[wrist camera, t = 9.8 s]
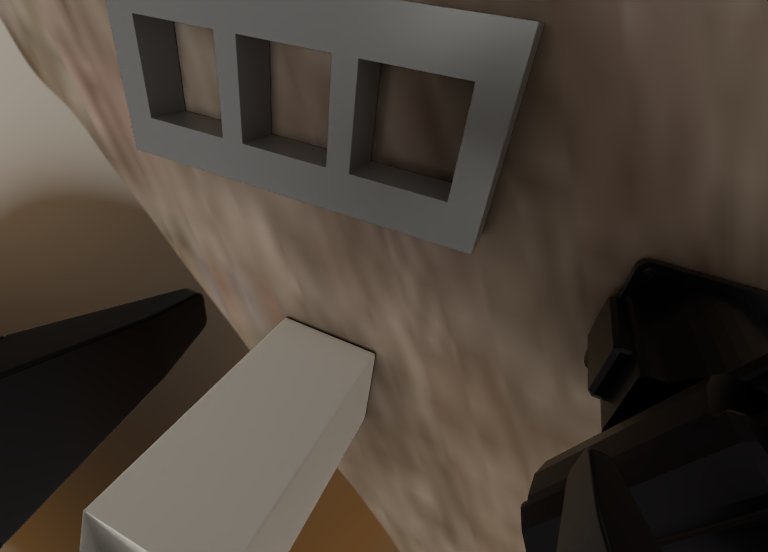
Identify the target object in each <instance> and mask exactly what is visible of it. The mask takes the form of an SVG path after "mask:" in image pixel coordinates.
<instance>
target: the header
mask: <svg viewBox="0 0 768 552" xmlns="http://www.w3.org/2000/svg"><path fill="white" fill-rule="evenodd" d="M105 1H106V6H107V10H108V15H109V20H110V25H111V29H112V34H113V39H114V44H115V48H116V53H117V58H118V62H119V67H120V72H121V77H122V81H123V86H124V91H125V96H126V100H127V105H128V110H129V114H130V119H131V124H132V129H133V133H134V138H135V143H136V148H137V150H140V151H143V152H147V153H150V154H153V155H156V156H159V157H162V158H166V159H169V160H172V161H175V162H178V163H182V164H185V165H188V166H191V167H194V168H197V169H201V170H204V171H207V172H210V173H213V174H216V175H220V176H223V177H226V178H229V179H232V180H236V181H239V182H242V183H245V184H248V185H251V186H255V187H258V188H261V189H264V190H267V191H270V192H274V193H277V194H280V195H283V196H286V197H290V198H293V199H296V200H299V201H302V202H305V203H309V204H312V205H315V206H318V207H321V208H324V209H328V210H331V211H334V212H337V213H340V214H344V215H347V216H350V217H353V218H356V219H359V220H363V221H366V222H369V223H372V224H375V225H378V226H382V227H385V228H388V229H391V230H394V231H398V232H401V233H404V234H407V235H410V236H413V237H417V238H420V239H423V240H426V241H429V242H432V243H436V244H439V245H442V246H445V247H448V248H452V249H455V250H458V251H461V252H464V253H467V254H471V255H472V253H473V251H474V249H475V247H476V245H477V243H478V241H479V239H480V237H481V235H482V233H483V229H484V226H485V223H486V219H487V216H488V213H489V209H490V206H491V202H492V199H493V196H494V192H495V189H496V186H497V182H498V179H499V175H500V172H501V169H502V165H503V162H504V159H505V155H506V152H507V149H508V145H509V142H510V138H511V135H512V132H513V128H514V125H515V122H516V118H517V115H518V111H519V108H520V105H521V101H522V98H523V95H524V91H525V88H526V85H527V81H528V78H529V74H530V71H531V68H532V64H533V61H534V58H535V54H536V51H537V48H538V44H539V41H540V37H541V34H542V31H543V27H544V24H545V23H543V22H537V21H530V20H524V19H517V18H511V17H504V16H498V15H492V14H485V13H479V12H472V11H466V10H459V9H453V8H446V7H440V6H433V5H427V4H420V3H414V2H407V1H401V0H105ZM173 21H175V22H180V23H185V24H189V25H194V26H199V27H204V28H209V29H213V34H214V45H215V56H216V67H217V78H218V89H219V99H220V110H221V120H217V119H214V118H210V117H206V116H203V115H199V114H195V113H192V112H188V111H185V104H184V96H183V89H182V82H181V74H180V67H179V60H178V53H177V45H176V38H175V31H174V24H173ZM269 41H274V42H279V43H284V44H289V45H294V46H299V47H304V48H309V49H314V50H319V51H324V52H329V53H332V61H331V81H330V101H329V122H328V142H327V149H324V148H321V147H317V146H313V145H310V144H306V143H302V142H299V141H295V140H291V139H287V138H284V137H280V136H276V135H273V134H272V132H271V94H270V56H269ZM381 63H384V64H389V65H394V66H399V67H404V68H409V69H414V70H419V71H424V72H429V73H434V74H439V75H444V76H449V77H454V78H459V79H464V80H469V81H474V82H475V86H474V91H473V95H472V99H471V103H470V108H469V112H468V116H467V121H466V125H465V129H464V134H463V138H462V142H461V147H460V151H459V155H458V160H457V164H456V168H455V172H454V177H453V181H452V183H450V182H446V181H442V180H439V179H435V178H431V177H428V176H424V175H420V174H417V173H413V172H409V171H406V170H402V169H398V168H394V167H391V166H387V165H383V164H380V163H376V162H372V161H371V152H372V143H373V134H374V125H375V116H376V107H377V98H378V89H379V80H380V71H381Z"/></svg>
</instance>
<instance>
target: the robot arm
mask: <svg viewBox="0 0 768 552" xmlns="http://www.w3.org/2000/svg"><path fill="white" fill-rule="evenodd" d="M646 268H652V269H654V271H653V272H652V273H650V274H644V273H642V271H643V270H644V269H646ZM206 323H207V314H206V308H205V301H204V297H203V295H202V294H201V293H199V292H197V291H194V290H192V289H188V288H185V289H181V290H177V291H173V292H169V293H165V294H162V295H158V296H154V297H150V298H146V299H142V300H138V301H135V302H131V303H127V304H123V305H119V306H115V307H111V308H108V309H104V310H100V311H96V312H93V313H88V314H85V315H81V316H77V317H73V318H69V319H65V320H62V321H58V322H54V323H50V324H46V325H42V326H39V327H35V328H31V329H27V330H23V331H20V332H16V333H12V334H8V335H6V336H5V337H4V336H0V549H1V547H2V546H3V544H5V543H6V542H7V541H8V540H9V539H10V538H11V537H12V536H13V535H14V534H15V533H16V532H17V531H18V530H19V529H20V528H21V527H22V525H23V524H24V523H25V522H26V521H27V520H28V519H29V518H30V517H31V516H32V515H33V514H34V513H35V512H36V511H37V510H38V509H39V508H40V507H41V506H42V505H43V504H44V503H45V501H47V499H48V498H49V497H50V496H51V495H52V494H53V493H54V492H55V491H56V490H57V489H58V488H59V487H60V486H61V485H62V484H63V483H64V482H65V481H66V480H67V479H68V478H69V477H70V476H71V474H72V473H73V472H74V471H75V470H76V469H77V468H78V467H79V466H80V465H81V464H82V463H83V462H84V461H85V460H86V459H87V458H88V457H89V456H90V455H91V454H92V453H93V452H94V451H95V449H97V447H98V446H99V445H100V444H101V443H102V442H103V441H104V440H105V439H106V438H107V437H108V436H109V435H110V434H111V433H112V432H113V431H114V430H115V429H116V428H117V427H118V426H119V425H120V424H121V422H122V421H123V420H124V419H125V418H126V417H127V416H128V415H129V414H130V413H131V412H132V411H133V410H134V409H135V408H136V407H137V406H138V405H139V404H140V403H141V402H142V401H143V400H144V398H145V397H146V396H147V395H148V394H149V393H150V392H151V391H152V390H153V389H154V388H155V387H156V386H157V385H158V384H159V383H160V382H161V381H162V380H163V379H164V377H165V376H166V375H167V374H168V373H169V372H170V370H171V369H172V368H173V367H174V365H175V364H176V363H177V362H178V360H179V359H180V358H181V357H182V355H183V354H184V353H185V352H186V350H187V349H188V348H189V346H190V345H191V344H192V343H193V341H194V340H195V339H196V338H197V336H198V335H199V334H200V333H201V331H202V330H203V329H204V327H205V325H206ZM584 363H585V366H586V367H587V368H588V391H589V392H590V394H591V396H593V397H596V398H598V399H600V401H601V428H602V433H600V434H598V435H596V436H594V437H592V438H590V439H588V440H586V441H584V442H582V443H580V444H579V445H577V446H575V447H573V448H571V449H569V450H567V451H565V452H563V453H561V454H559V455H557V456H555V457H554V458H552V459H550V460H548V461H546V462H545V463H544V464H543V466H542V467H541V468H540V469H539V470H538V471H537V472H536V473H535V474H534V478H533V481H532V484H531V488H530V491H529V495H528V500H527V501H525V502H523V503H522V505H521V525H522V534H523V539H524V543H525V548H526V552H768V292H767V291H763V290H760V289H756V288H753V287H749V286H746V285H742V284H739V283H735V282H732V281H728V280H725V279H721V278H718V277H714V276H711V275H707V274H703V273H700V272H696V271H693V270H689V269H686V268H682V267H679V266H675V265H672V264H668V263H665V262H661V261H658V260H654V259H643V260H641V261H639V262H638V263H637V264H636V265H635V266H634V268H633V270H632V272H631V274H630V275H629V277H628V279H627V281H626V282H625V284H624V286H623V288H622V290H621V291H620V293H619V295H614V296H611V297H609V298H608V300H607V302H606V303H605V305H604V307H603V309H602V311H601V312H600V314H599V316H598V318H597V320H596V322H595V323H594V325H593V327H592V329H591V331H590V333H589V334H588V350H587V352H586V354H585V357H584Z"/></svg>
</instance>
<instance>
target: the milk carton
mask: <svg viewBox="0 0 768 552" xmlns="http://www.w3.org/2000/svg"><path fill="white" fill-rule="evenodd" d="M374 360H375V354H374V353H371V352H369V351H367V350H364V349H362V348H359V347H357V346H354V345H352V344H350V343H347V342H345V341H342V340H340V339H337V338H335V337H332V336H330V335H328V334H325V333H323V332H320V331H318V330H315V329H313V328H310V327H308V326H305V325H303V324H300V323H298V322H296V321H293V320H291V319H288V318H285V319H283V320H282V321H281V322H280V323H279V324H278V325H277V326H276V327H275V328H274V329H273V330H272V331H271V332H270V333H269V334H268V335H267V336H266V337H265V338H263V339H262V340H261V341H260V342H259V343H258V344H257V345H256V346H255V347H254V348H253V349H252V350H251V351H250V352H249V353H248V354H247V355H246V356H245V357H244V358H243V359H242V360H240V361H239V362H238V363H237V364H236V365H235V366H234V367H233V368H232V369H231V370H230V371H229V372H228V373H227V374H226V375H225V376H224V377H223V378H222V379H221V380H220V381H219V382H217V383H216V384H215V385H214V386H213V387H212V388H211V389H210V390H209V391H208V392H207V393H206V394H205V395H204V396H203V397H202V398H201V399H200V400H199V401H198V402H197V403H196V404H194V405H193V406H192V407H191V408H190V409H189V410H188V411H187V412H186V413H185V414H184V415H183V416H182V417H181V418H180V419H179V420H178V421H177V422H176V423H175V424H174V425H173V426H171V427H170V429H168V430H167V431H166V432H165V433H164V434H163V435H162V436H161V437H160V438H159V439H158V440H157V441H156V442H155V443H154V444H153V445H152V446H151V447H150V448H149V449H147V450H146V451H145V452H144V453H143V454H142V455H141V456H140V457H139V458H138V459H137V460H136V461H135V462H134V463H133V464H132V465H131V466H130V467H129V468H128V469H127V470H125V471H124V472H123V473H122V474H121V475H120V476H119V477H118V478H117V479H116V480H115V481H114V482H113V483H112V484H111V485H110V486H109V487H108V488H107V489H106V490H105V491H104V492H102V493H101V494H100V495H99V496H98V497H97V498H96V499H95V500H94V501H93V502H92V503H91V504H90V505H89V506H88V507H87V508H86V509H85V510H83V519H82V531H81V542H80V552H289V550H290V549H291V547H292V545H293V543H294V542H295V540H296V538H297V536H298V535H299V533H300V531H301V529H302V528H303V526H304V524H305V522H306V520H307V519H308V517H309V515H310V514H311V512H312V510H313V508H314V506H315V505H316V503H317V501H318V499H319V497H320V496H321V494H322V492H323V491H324V489H325V487H326V485H327V484H328V482H329V480H330V478H331V477H332V475H333V473H334V471H335V470H336V468H337V466H338V464H339V463H340V461H341V459H342V457H343V456H344V454H345V452H346V450H347V449H348V447H349V445H350V443H351V442H352V440H353V438H354V436H355V435H356V433H357V431H358V429H359V428H360V426H361V424H362V422H363V420H364V418H365V414H366V408H367V402H368V396H369V390H370V384H371V378H372V372H373V366H374Z"/></svg>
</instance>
